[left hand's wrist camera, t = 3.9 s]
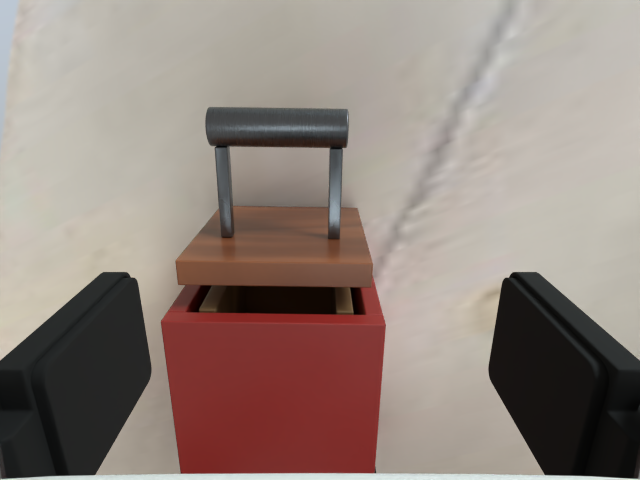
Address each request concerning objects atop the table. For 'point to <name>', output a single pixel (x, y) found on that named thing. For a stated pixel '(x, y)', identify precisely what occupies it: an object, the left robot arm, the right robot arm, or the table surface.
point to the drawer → (278, 225)
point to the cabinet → (275, 387)
